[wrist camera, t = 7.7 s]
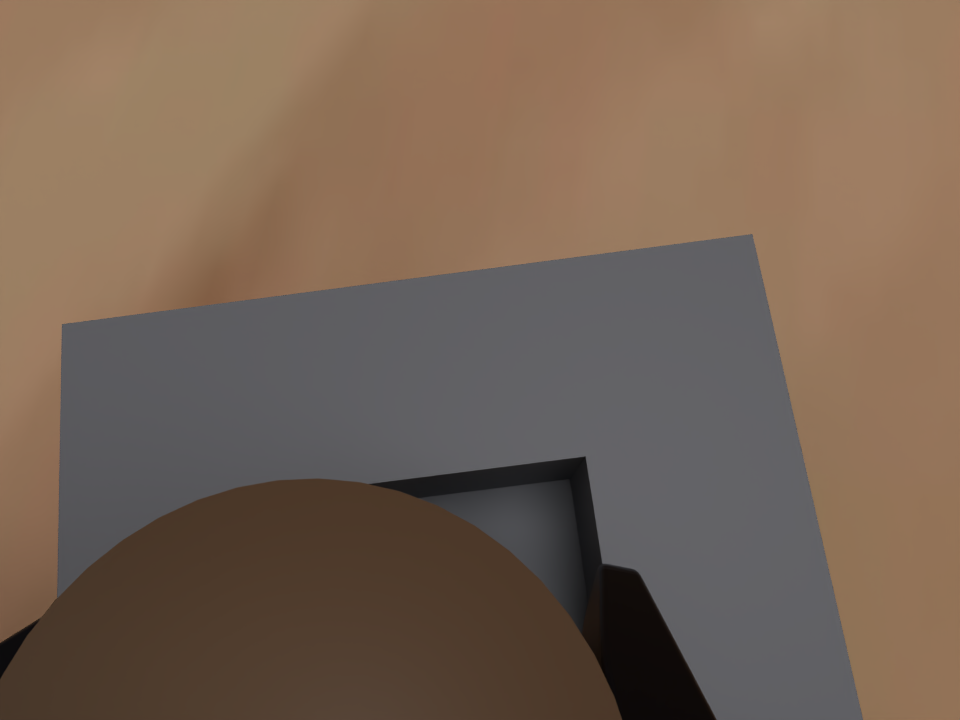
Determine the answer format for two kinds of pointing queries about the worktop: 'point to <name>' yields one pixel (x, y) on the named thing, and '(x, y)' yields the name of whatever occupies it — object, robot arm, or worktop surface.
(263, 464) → the socket block
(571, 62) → the worktop surface
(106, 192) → the worktop surface
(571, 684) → the walnut pin
